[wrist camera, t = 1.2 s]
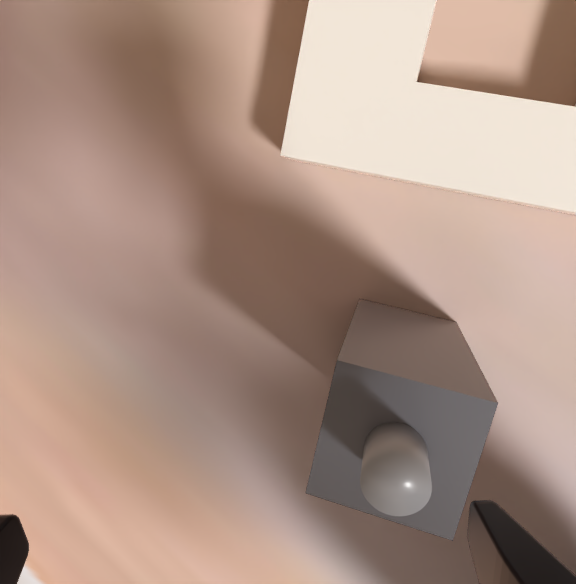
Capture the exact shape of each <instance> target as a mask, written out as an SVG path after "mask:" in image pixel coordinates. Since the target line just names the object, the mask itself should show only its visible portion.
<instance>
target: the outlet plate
mask: <svg viewBox="0 0 576 584" xmlns="http://www.w3.org/2000/svg"><path fill="white" fill-rule="evenodd" d="M436 2H437V0H309V4H308V9H307V14H306V20H305V25H304V31H303V36H302V41H301V47H300V52H299V58H298V63H297V68H296V74H295V79H294V84H293V90H292V95H291V101H290V106H289V111H288V117H287V122H286V128H285V133H284V138H283V144H282V149H281V154H280V156H283V157H285V158H288V159H290V160H293V161H298V162H304V163H309V164H314V165H319V166H324V167H329V168H334V169H340V170H345V171H350V172H355V173H360V174H365V175H371V176H376V177H381V178H386V179H391V180H396V181H401V182H407V183H412V184H417V185H422V186H427V187H432V188H437V189H443V190H448V191H453V192H458V193H463V194H468V195H474V196H479V197H484V198H489V199H494V200H499V201H504V202H510V203H515V204H520V205H525V206H530V207H535V208H540V209H546V210H551V211H556V212H561V213H566V214H571V215H576V104H575V107H574V106H568V105H561V104H555V103H549V102H542V101H536V100H529V99H523V98H517V97H510V96H504V95H497V94H491V93H484V92H478V91H472V90H465V89H459V88H452V87H446V86H440V85H433V84H427V83H420V82H417V81H418V76H419V72H420V68H421V64H422V60H423V56H424V52H425V48H426V43H427V39H428V35H429V31H430V27H431V23H432V19H433V15H434V11H435V6H436Z"/></svg>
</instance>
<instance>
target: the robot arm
mask: <svg viewBox="0 0 576 584" xmlns="http://www.w3.org/2000/svg"><path fill="white" fill-rule="evenodd" d="M468 542H469V547H470V550H471V554H472V558H473V562H474V565H475V569H476V573H477V577H478V580H479V584H576V576H575V575H574V574H573V573H572V572H571V571H570V570H569V569H568V568H567V567H566V566H565V565H564V564H562V563H561V562H560V561H559V560H558V559H557V558H556V557H555V556H554V555H553V554H552V553H550V552H549V551H548V550H547V549H546V548H545V547H544V546H543V545H542V544H541V543H540V542H538V541H537V540H536V539H535V538H534V537H533V536H532V535H531V534H530V533H529V532H528V531H526V530H525V529H524V528H523V527H522V526H521V525H520V524H519V523H518V522H517V521H516V520H515V519H513V518H512V517H511V516H510V515H509V514H508V513H507V512H506V511H505V510H504V509H503V508H501V507H500V506H499V505H498V504H497V503H496V502H494V501H491V500H484V501H473V502H472V503H471V505H470V511H469V522H468ZM28 551H29V543H28V540H27V537H26V535H25V532H24V530H23V527H22V524H21V522H20V519H19V518H18V517H17V516H16V515H13V514H12V515H0V584H17V582H18V579H19V577H20V574H21V572H22V569H23V567H24V564H25V561H26V559H27V556H28Z"/></svg>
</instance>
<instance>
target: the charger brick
mask: <svg viewBox="0 0 576 584" xmlns="http://www.w3.org/2000/svg"><path fill="white" fill-rule="evenodd" d="M497 405H498V402H497V400H496V398H495V396H494V394H493V392H492V390H491V388H490V387H489V385H488V383H487V381H486V379H485V377H484V375H483V373H482V371H481V369H480V367H479V365H478V363H477V361H476V359H475V357H474V355H473V354H472V352H471V350H470V348H469V346H468V344H467V342H466V340H465V338H464V336H463V334H462V332H461V330H460V328H459V326H458V324H457V322H454V321H450V320H446V319H442V318H437V317H433V316H429V315H425V314H421V313H417V312H413V311H408V310H404V309H400V308H396V307H392V306H388V305H384V304H380V303H375V302H371V301H367V300H363V299H359V302H358V304H357V307H356V310H355V313H354V315H353V318H352V321H351V323H350V326H349V329H348V332H347V334H346V337H345V340H344V342H343V345H342V348H341V350H340V353H339V356H338V359H337V362H336V366H335V371H334V375H333V379H332V383H331V387H330V392H329V396H328V400H327V404H326V409H325V413H324V417H323V421H322V426H321V430H320V434H319V438H318V443H317V447H316V451H315V455H314V459H313V464H312V468H311V472H310V476H309V481H308V485H307V489H306V493H307V494H310V495H313V496H316V497H319V498H322V499H325V500H328V501H331V502H334V503H337V504H341V505H344V506H347V507H350V508H353V509H356V510H359V511H362V512H365V513H368V514H371V515H375V516H378V517H381V518H384V519H387V520H390V521H393V522H396V523H399V524H402V525H406V526H409V527H412V528H415V529H418V530H421V531H424V532H427V533H430V534H433V535H436V536H440V537H443V538H446V539H449V540H452V541H453V539H454V535H455V532H456V529H457V526H458V523H459V520H460V517H461V514H462V511H463V508H464V505H465V502H466V499H467V496H468V493H469V490H470V487H471V484H472V481H473V478H474V475H475V472H476V469H477V466H478V463H479V459H480V456H481V453H482V450H483V447H484V444H485V441H486V438H487V435H488V432H489V429H490V426H491V423H492V420H493V417H494V414H495V411H496V408H497Z"/></svg>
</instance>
